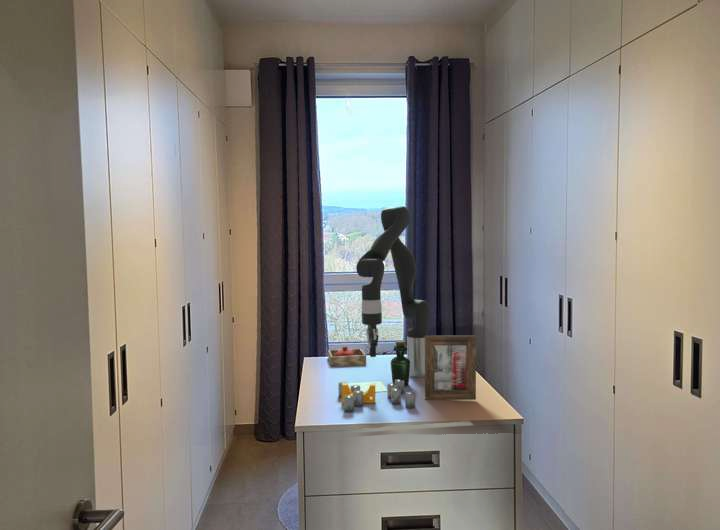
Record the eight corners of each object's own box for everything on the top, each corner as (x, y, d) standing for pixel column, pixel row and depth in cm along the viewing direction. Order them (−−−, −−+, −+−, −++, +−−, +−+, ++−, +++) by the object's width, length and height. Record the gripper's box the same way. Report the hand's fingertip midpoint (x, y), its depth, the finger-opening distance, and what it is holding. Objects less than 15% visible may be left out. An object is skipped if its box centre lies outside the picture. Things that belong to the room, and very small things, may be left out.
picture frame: (425, 399, 191) (424, 336, 190) (425, 398, 193) (424, 335, 192) (475, 399, 190) (475, 336, 189) (475, 398, 192) (475, 335, 191)
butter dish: (331, 366, 245) (330, 348, 244) (336, 360, 256) (335, 343, 256) (354, 366, 243) (354, 349, 242) (358, 361, 254) (358, 344, 254)
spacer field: (403, 391, 202) (402, 378, 202) (416, 408, 181) (416, 394, 181) (338, 395, 198) (337, 382, 198) (344, 412, 178) (344, 398, 177)
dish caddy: (361, 358, 259) (361, 348, 259) (366, 365, 244) (366, 355, 243) (328, 360, 256) (328, 350, 256) (331, 367, 241) (331, 357, 241)
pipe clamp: (341, 403, 187) (341, 386, 186) (343, 399, 191) (342, 382, 190) (374, 404, 186) (374, 387, 185) (375, 400, 190) (375, 383, 189)
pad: (381, 381, 216) (381, 381, 216) (387, 391, 202) (387, 390, 202) (343, 383, 214) (343, 383, 213) (347, 393, 200) (347, 393, 200)
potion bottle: (393, 381, 216) (393, 338, 215) (412, 383, 213) (412, 340, 213) (388, 386, 209) (387, 342, 208) (407, 388, 206) (407, 343, 205)
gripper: (384, 313, 188) (386, 360, 189) (378, 308, 201) (379, 352, 202) (364, 314, 187) (366, 361, 188) (359, 309, 200) (360, 353, 201)
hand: (372, 356), depth 195 cm, fingers closed
